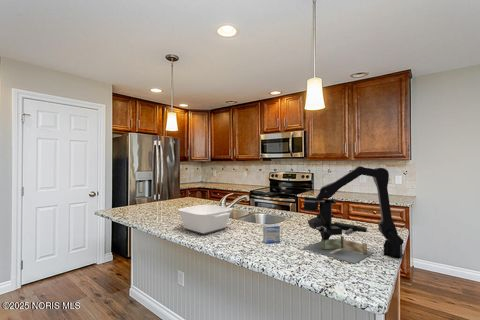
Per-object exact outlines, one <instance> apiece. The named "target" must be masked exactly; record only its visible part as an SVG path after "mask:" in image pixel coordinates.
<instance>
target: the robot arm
mask: <svg viewBox="0 0 480 320" xmlns="http://www.w3.org/2000/svg"><path fill="white" fill-rule="evenodd" d="M360 176H367V177H372V179H373V182H374V185H375V187H376V190H377V197H378V203H379V211H380V220H379V221H377V222H376V223H377V225H378V231H379V232H380V234H381V235H382V236H383V237H384V238H385V240H384V243H383V256H386V257H390V258H394V259H398V260H400V259H401V258H403V257H404V256H405V254H403V245H404V239H403V238H401V236H399V235H398V234H399V232H398V230H397V227H396V224H395V222H394V221H393V217H392V211H391V209H392V208H391V204H390V197H389V190H388V186H389V179H390V177H389V176H390V173H389V170H388V169H387V168H385V167H376V168H370V167H366V166H365V167H364V166H360V165H359V166H356V167H355V168H354V169H352V170H350V171H349V172H348V173H346V174H344V175H343V176H342V177H340V178H339V179H337V180H335V181H332V182H330V183H328V184H325V185H323V186H321V187H320V189H319V193H318V194H317V195H316V197H311V196H304V203H303V211H304V212H305V211H306V212H307V211H308V212H316V211H317V210H319V212H317V214H316V216H315V217H313V218H310V219H308V220H307V223H308V226H309V228H310V229H313V230H317V231H318V232H319V233H320V237H321V239H324V240H329V239H330V238H331V236H340V235H341V236H342V235H343V230H342V229H341V228H339V227H337V226H333V224H334V223H333V221H332V218H334V214H333V209H332V208H333V204H334V205H336V204H337V202H336V200H334V198H333V196H334V195H335V194H336V193H337V192H338V191H339V190H340V189H342V187H344V186H346V185H348V184H349V183H351V182H352V181H354V180H355V179H357V178H359V177H360ZM330 198H331V199H330ZM331 226H333V227H331Z"/></svg>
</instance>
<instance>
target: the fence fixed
mask: <svg viewBox="0 0 480 320" xmlns="http://www.w3.org/2000/svg"><path fill="white" fill-rule="evenodd" d="M340 239H341V248H344V249H348V250H351V251H355V252H359V253H362V254H364V255H367V251H368V243H366V242H362V243H360V242H357V241H354V240H353V241H352V240H349V239H345V236H344V235H343V236H342V235H341V236H340Z"/></svg>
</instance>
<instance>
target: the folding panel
mask: <svg viewBox="0 0 480 320" xmlns="http://www.w3.org/2000/svg"><path fill="white" fill-rule="evenodd" d="M320 241H321V249H332V248H341V238H331V239H330V238H329V240H324V239H322V238H321V240H320Z"/></svg>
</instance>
